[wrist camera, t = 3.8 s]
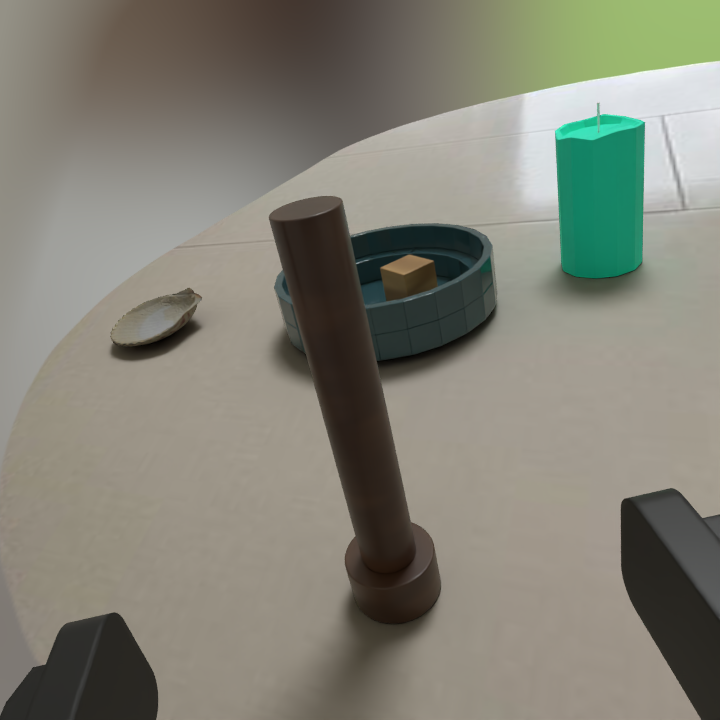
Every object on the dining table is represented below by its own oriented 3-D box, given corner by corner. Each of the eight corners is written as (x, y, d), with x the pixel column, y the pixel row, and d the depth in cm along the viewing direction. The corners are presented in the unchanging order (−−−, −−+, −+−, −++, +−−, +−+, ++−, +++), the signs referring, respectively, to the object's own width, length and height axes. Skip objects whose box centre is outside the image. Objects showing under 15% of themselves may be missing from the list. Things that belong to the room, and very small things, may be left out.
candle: (567, 249, 53) (561, 100, 47) (645, 247, 50) (648, 88, 45) (554, 278, 48) (545, 117, 43) (638, 278, 46) (641, 105, 40)
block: (410, 311, 47) (403, 274, 46) (386, 302, 49) (379, 267, 48) (439, 296, 48) (434, 260, 47) (415, 288, 51) (409, 253, 49)
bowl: (312, 395, 40) (295, 334, 38) (275, 308, 54) (261, 260, 52) (538, 323, 43) (534, 262, 41) (447, 258, 57) (440, 210, 55)
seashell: (124, 352, 57) (123, 366, 50) (105, 323, 56) (102, 333, 49) (203, 307, 59) (215, 315, 52) (187, 279, 58) (196, 282, 51)
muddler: (368, 637, 24) (252, 239, 16) (345, 570, 27) (238, 210, 19) (454, 604, 24) (381, 203, 17) (422, 542, 28) (348, 181, 20)
